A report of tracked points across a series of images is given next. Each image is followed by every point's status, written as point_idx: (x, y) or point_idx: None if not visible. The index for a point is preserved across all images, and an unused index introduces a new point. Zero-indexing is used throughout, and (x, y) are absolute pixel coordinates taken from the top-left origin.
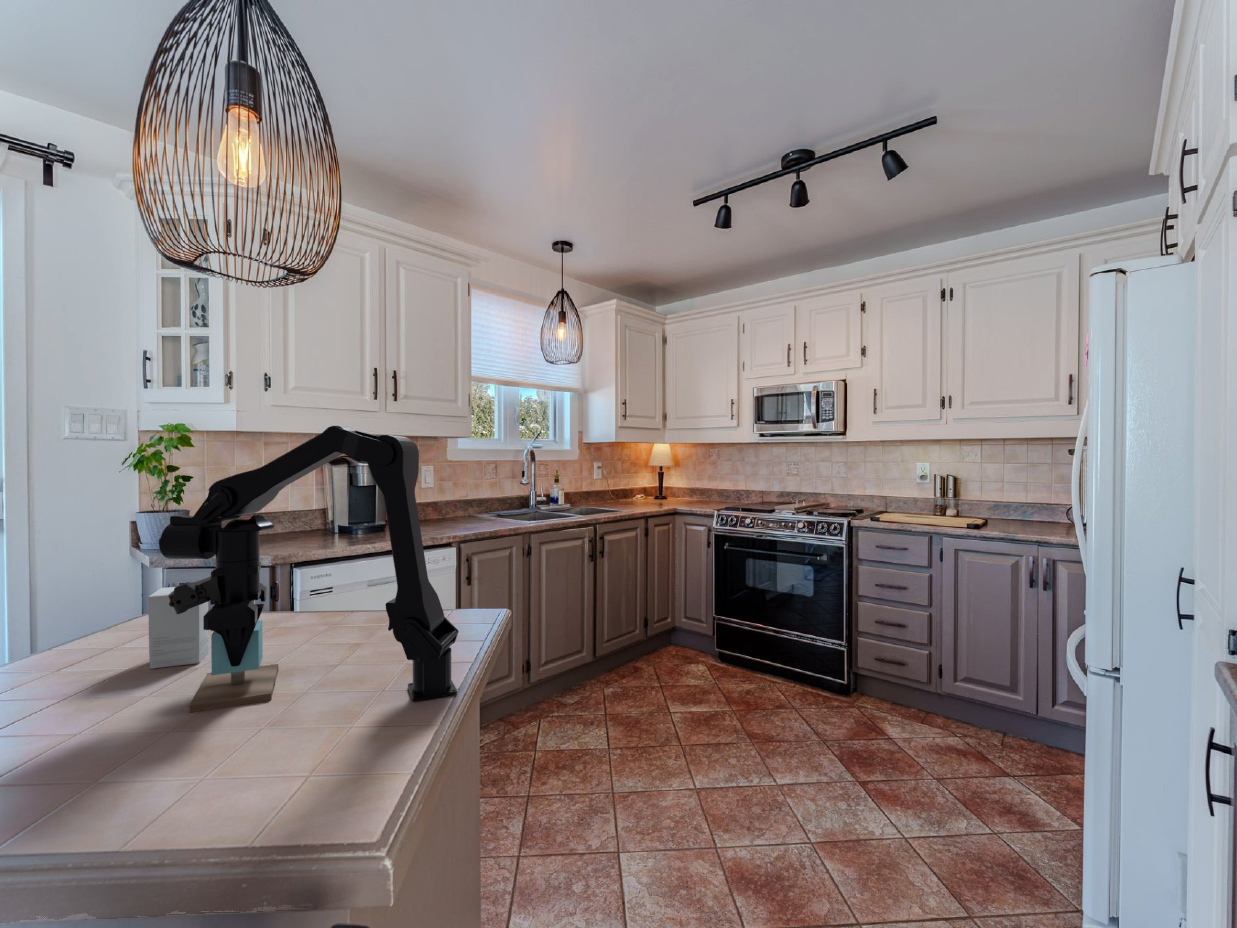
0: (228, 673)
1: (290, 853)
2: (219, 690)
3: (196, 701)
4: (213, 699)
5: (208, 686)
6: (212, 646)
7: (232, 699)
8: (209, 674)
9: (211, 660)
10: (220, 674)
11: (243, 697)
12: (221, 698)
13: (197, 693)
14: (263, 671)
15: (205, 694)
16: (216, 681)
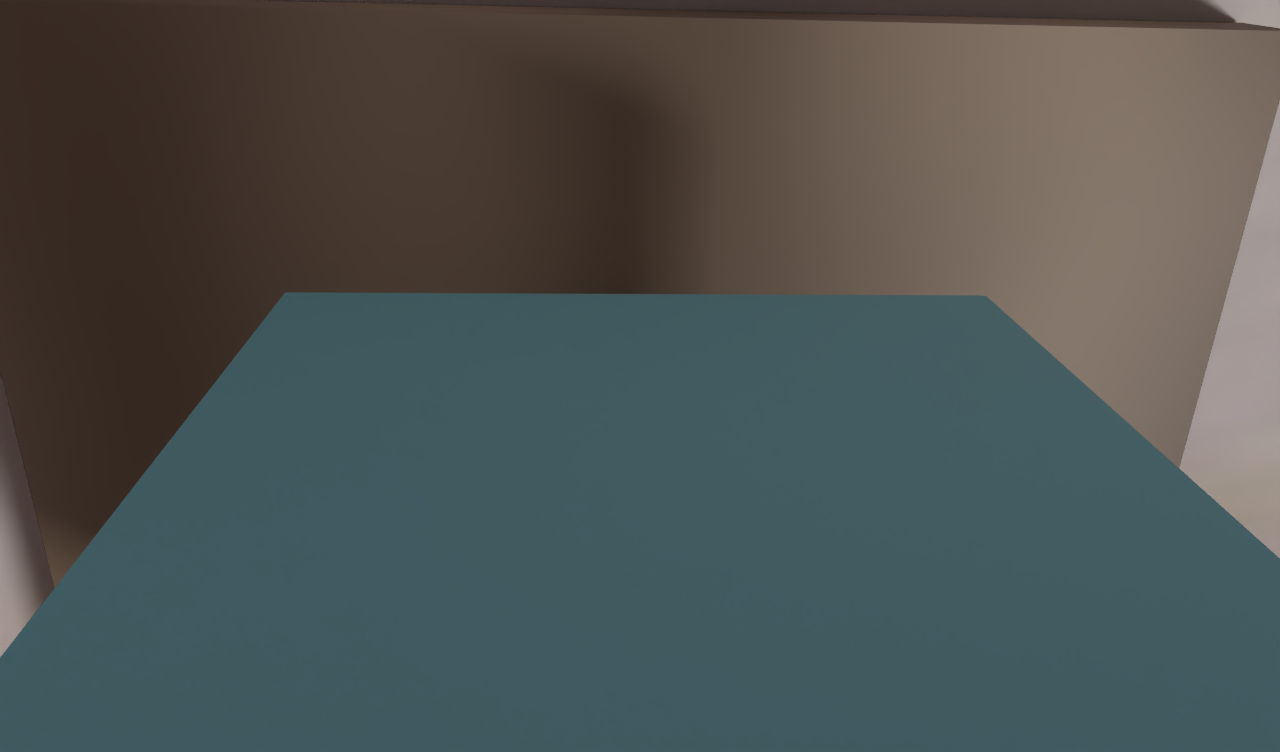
0: (1079, 306)
1: None
2: (406, 291)
3: (53, 71)
4: (69, 269)
5: (650, 133)
6: (49, 627)
7: (27, 465)
8: (1200, 70)
9: (205, 404)
10: (1097, 216)
11: (49, 565)
12: (84, 352)
13: (401, 31)
14: None
15: (310, 144)
16: (817, 205)
